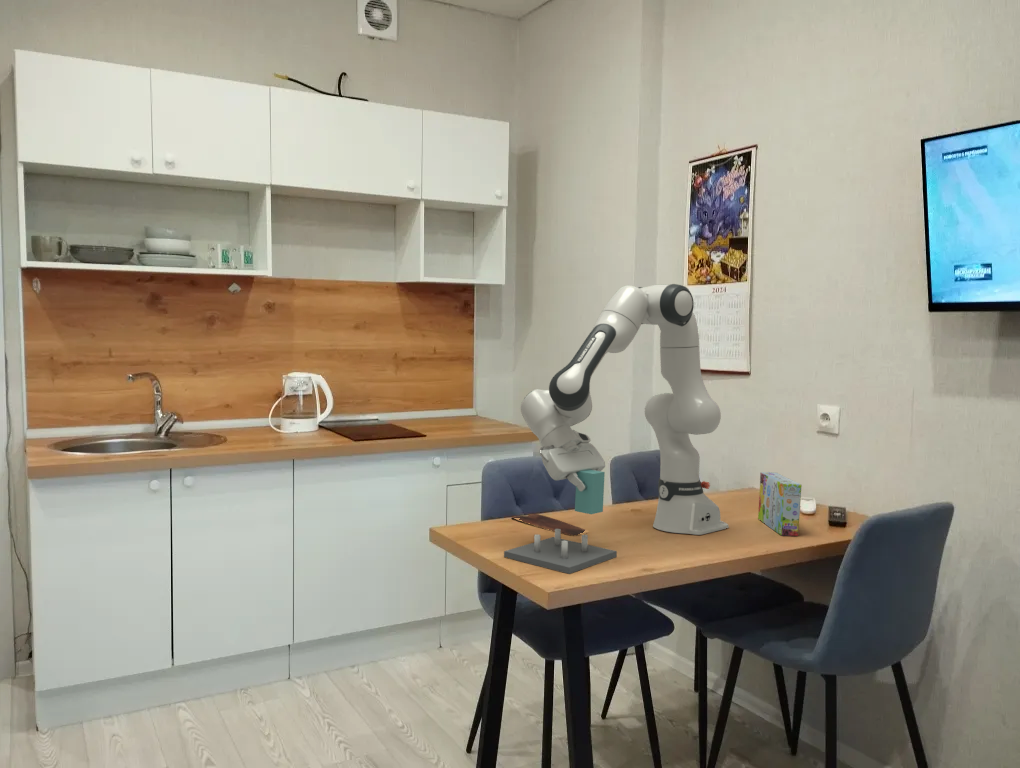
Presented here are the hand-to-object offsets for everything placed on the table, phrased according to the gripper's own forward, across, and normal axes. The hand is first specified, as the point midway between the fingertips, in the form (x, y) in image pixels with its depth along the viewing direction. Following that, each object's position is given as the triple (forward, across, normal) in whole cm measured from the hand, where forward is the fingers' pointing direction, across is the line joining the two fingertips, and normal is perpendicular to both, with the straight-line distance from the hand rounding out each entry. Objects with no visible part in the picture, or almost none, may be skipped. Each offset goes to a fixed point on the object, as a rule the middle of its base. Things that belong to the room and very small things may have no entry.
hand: (591, 488), depth 195 cm
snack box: (+27, +66, -4) cm, 72 cm away
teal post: (+4, 0, +5) cm, 6 cm away
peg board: (+9, -4, +16) cm, 19 cm away
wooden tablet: (-7, +21, +32) cm, 39 cm away
